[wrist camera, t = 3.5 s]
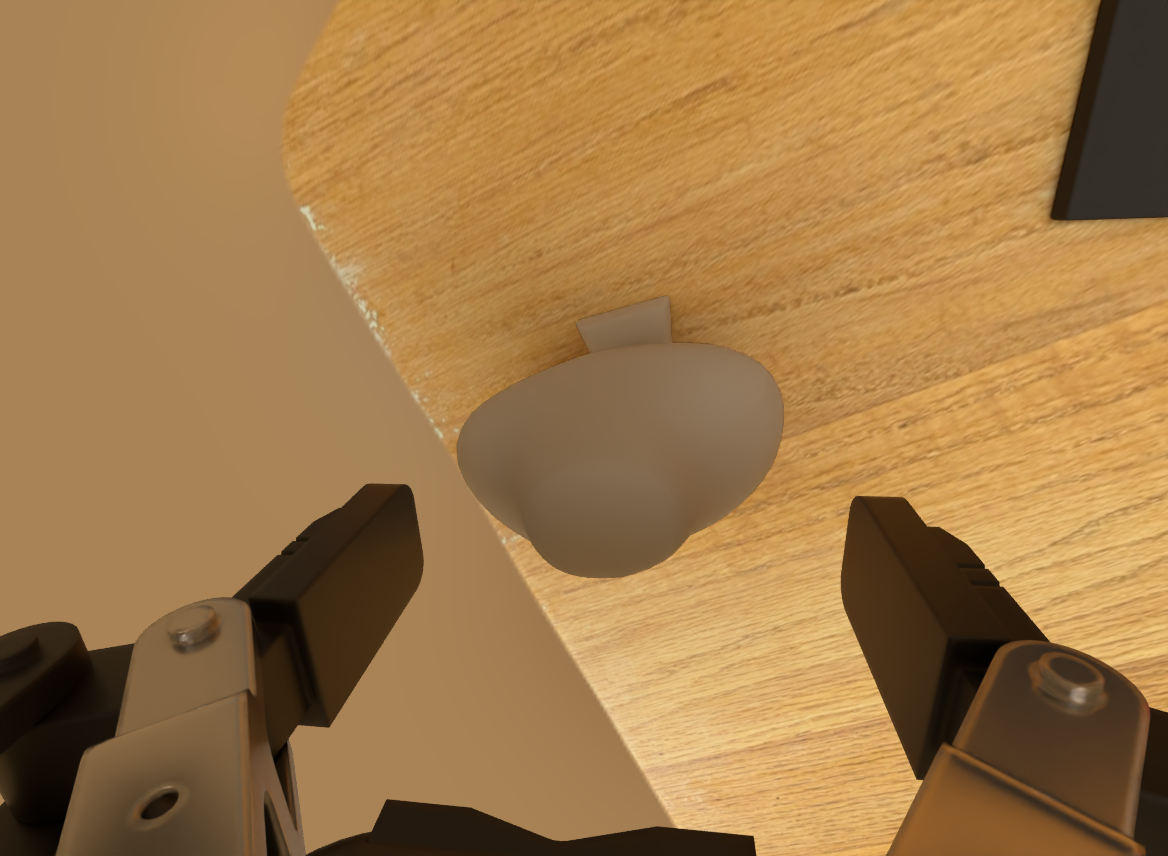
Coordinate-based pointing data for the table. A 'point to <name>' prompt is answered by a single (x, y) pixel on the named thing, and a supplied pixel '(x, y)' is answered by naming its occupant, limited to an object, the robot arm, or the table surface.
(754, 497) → the table surface
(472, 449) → the grey rounded body
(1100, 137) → the mat
